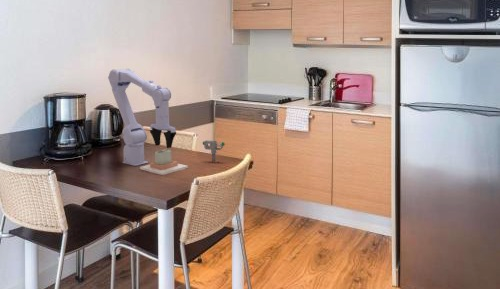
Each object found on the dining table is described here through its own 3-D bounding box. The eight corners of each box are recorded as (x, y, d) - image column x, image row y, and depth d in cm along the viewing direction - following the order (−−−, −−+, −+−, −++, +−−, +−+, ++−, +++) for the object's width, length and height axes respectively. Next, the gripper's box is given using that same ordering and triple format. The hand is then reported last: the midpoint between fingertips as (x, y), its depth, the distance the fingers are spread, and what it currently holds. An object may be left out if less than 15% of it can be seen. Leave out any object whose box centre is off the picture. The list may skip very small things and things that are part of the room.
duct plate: (139, 169, 201) (139, 163, 201) (165, 162, 213) (165, 156, 212) (162, 175, 192) (162, 168, 192) (187, 168, 204) (187, 162, 203)
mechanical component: (223, 163, 212) (223, 142, 210) (202, 162, 214) (202, 141, 212) (225, 161, 215) (224, 141, 213) (204, 160, 217) (204, 140, 215)
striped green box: (165, 164, 206) (165, 149, 204) (171, 165, 203) (171, 150, 202) (155, 167, 201) (154, 151, 200) (161, 168, 199) (160, 152, 197)
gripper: (144, 115, 199) (145, 145, 202) (166, 118, 190) (167, 150, 193) (156, 113, 204) (157, 143, 207) (178, 117, 196) (179, 147, 198)
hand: (163, 146), depth 200 cm, fingers open, 7 cm apart
